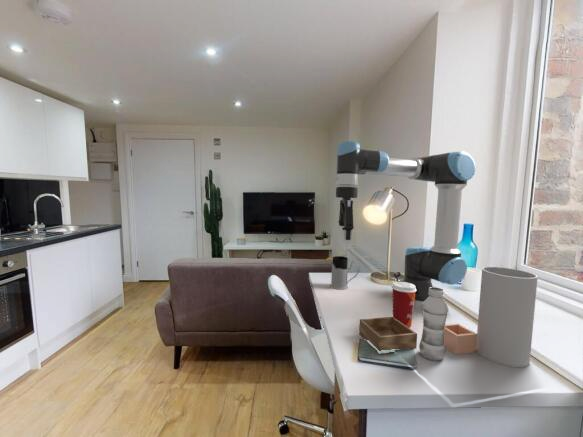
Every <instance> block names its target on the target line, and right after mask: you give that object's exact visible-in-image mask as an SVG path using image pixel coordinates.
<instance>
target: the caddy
mask: <svg viewBox="0 0 583 437" xmlns="http://www.w3.org/2000/svg"><path fill="white" fill-rule="evenodd" d="M358 326H359V327H358V334H359V336H360V337H361V338H362V339H363V340H364V339H366V340H369V341H370V342H371V343H372V344H373V345H374V346H375V347H376V348H377V349H378V350H379V351H381V350H391V349H405V348H413V349H417V345H418V344H417V341H418V333H417V332H416V331H414V330H412V329H411V327H410V328H408V327H407V326H405V325H404V324H403V323H401V322H400V321H398V320H397V319H396V318H394V317H393V316H385V317H375V318H374V317H372V318H360V319H359V323H358ZM405 350H406V349H405Z"/></svg>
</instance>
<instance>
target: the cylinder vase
mask: <svg viewBox="0 0 583 437" xmlns="http://www.w3.org/2000/svg"><path fill="white" fill-rule="evenodd" d="M538 277H539V276H538V275H537V274H536V273H533V272H530V271H525V270H522V269H515V268H511V267H510V268H508V267H502V266H484V267H482V268H481V279H480V290H479V291H480V293H479V303H478V315H477V316H478V317H477V318H478V320H477V329H476V330H477V331H476V333H477V346H476V352H478V354H479V355H481V356H482V357H483V358H486V359H487V360H489V361H491V362H493V363H496V364H499V365H502V366H504V367H505V366H506V367H510V368H526V367H528V366H529V365H530V362H531V353H532V352H531V351H532V341H533V331H534V319H535V309H536V298H537V287H538V286H537V285H538Z"/></svg>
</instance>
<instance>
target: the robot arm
mask: <svg viewBox="0 0 583 437" xmlns="http://www.w3.org/2000/svg"><path fill="white" fill-rule="evenodd" d="M360 146H361V145H360V142H358V141H355V140H354V141H352V140H350V141H349V140H347V141H342V142H339V144H338V146H337V154H336V159H337V160H336V176H334V180H336V188H335V197H336V198H340V201H339V213H338V214H339V216H338V222H337V223H338V225H339V226H338V244H342V250H344V251H345V250H346V251H347V250H350V251H351V250H352V246H353V245H352V244H353V242H352V240H353V230H354V228H355V227H354V211H353V210H354V209H353V208H354V207H353V206H354V200H352V199H357V198H358V192H359V191H358V187H357V186H359V175H368V176H369V175H371V176H385V177H401V178H402V177H403V178H404V177H406V178H408V179H410V180H417V181H423V182H432V183H434V186H435V187H436V189H437V205H436V213H435V214H436V217H435V229H434V230H435V231H434V242H433V246H432V247H429V246H413V247H411V246H410V247H407V248H406V250H405V254H404V258H405V259H404V275H403V276H404V277H403V280H402V282H407V283H411V284H414V285H415V287H416V290H417V291H416V292H415V300H414V301H419V302H424V301H425V300H426V299H427V298H428V297H429V295H428V292H429V288H430V287H434V286H433V282H432V280H434V281H437V282H440V283H441V284H446V285H451V286H452V285H456V284H459V283H461V281H462V280H463V279H464V278H465V276H466V274H467V271H468V264H467V262H466V260H465V259H464V258H463V257H462V251H461V250H460V249H459V248H458V243H459V242H458V241H459V233H460V232H459V230H460V220H461V219H460V218H461V206H462V194H463V193H462V192H463V189H464V188H466V187H467V185H468V181H469V180H472V178H473V176H475V174H476V164H475V160H474V158H473V157H472V156H471V154H470V153H468V152H466V151H451V152H445V153H440V154H439V153H438V154H433V155H428V156H423V157H411V158H410V159H406V158H394V157H389V155H388V153H387V152H386V151H380V150H371V149H362V148H360Z"/></svg>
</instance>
